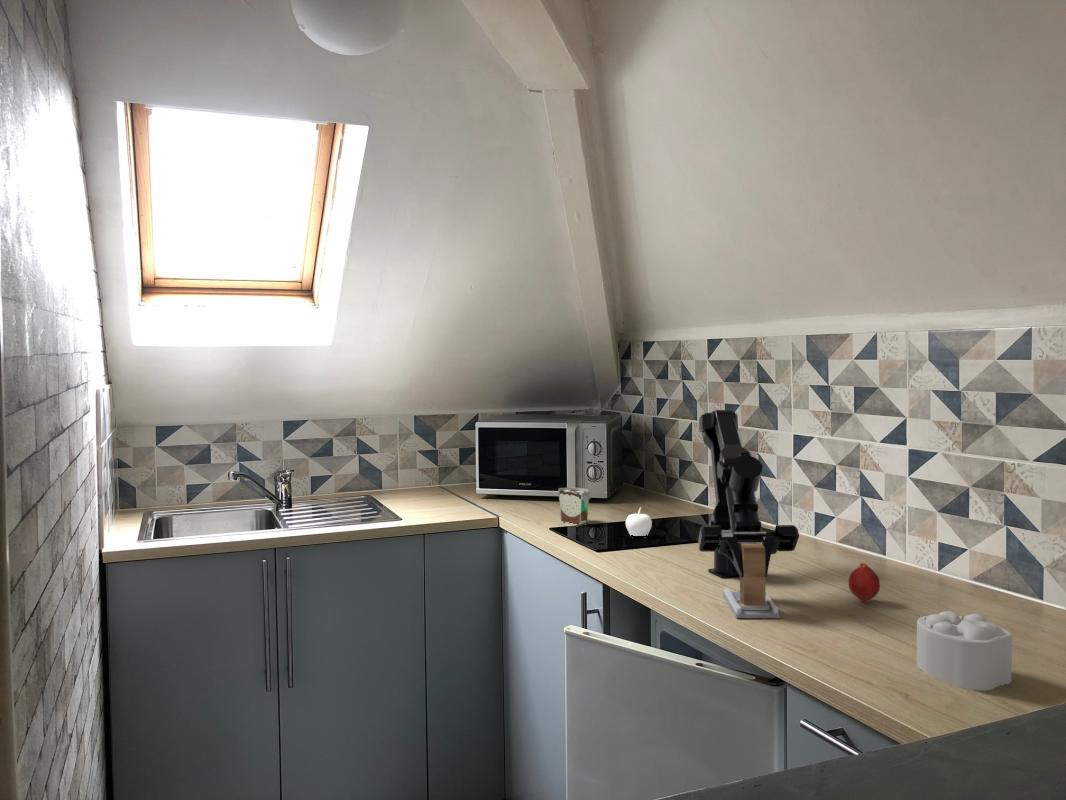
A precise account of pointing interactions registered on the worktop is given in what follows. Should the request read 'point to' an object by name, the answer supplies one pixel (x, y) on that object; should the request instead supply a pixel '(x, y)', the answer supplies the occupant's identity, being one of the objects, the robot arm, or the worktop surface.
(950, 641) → the lumpy-topped squat cylinder
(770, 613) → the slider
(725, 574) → the robot arm
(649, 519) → the plain white apple
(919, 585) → the worktop surface
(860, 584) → the onion
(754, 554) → the brown rectangular block
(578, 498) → the food container
